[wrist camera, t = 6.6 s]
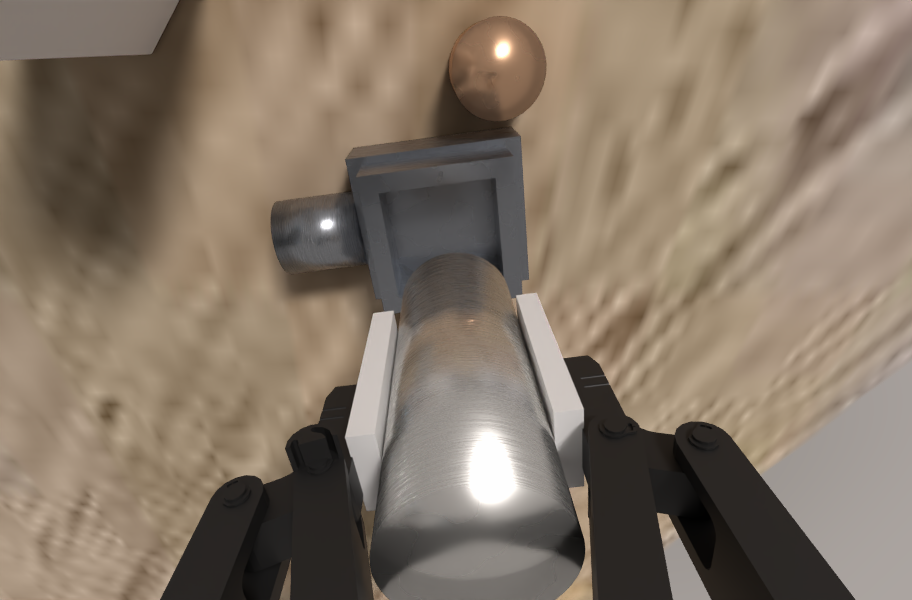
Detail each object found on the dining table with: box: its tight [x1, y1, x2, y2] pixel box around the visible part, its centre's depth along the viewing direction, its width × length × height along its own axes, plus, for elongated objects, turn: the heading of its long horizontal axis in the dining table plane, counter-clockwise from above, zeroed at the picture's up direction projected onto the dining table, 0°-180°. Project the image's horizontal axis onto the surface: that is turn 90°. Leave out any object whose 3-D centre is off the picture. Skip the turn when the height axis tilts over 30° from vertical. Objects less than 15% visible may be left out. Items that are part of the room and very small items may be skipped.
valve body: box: [271, 127, 529, 313], centre depth 31 cm, size 15×12×6 cm
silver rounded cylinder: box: [370, 253, 585, 600], centre depth 16 cm, size 5×5×12 cm
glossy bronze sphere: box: [449, 16, 546, 121], centre depth 28 cm, size 5×5×4 cm
